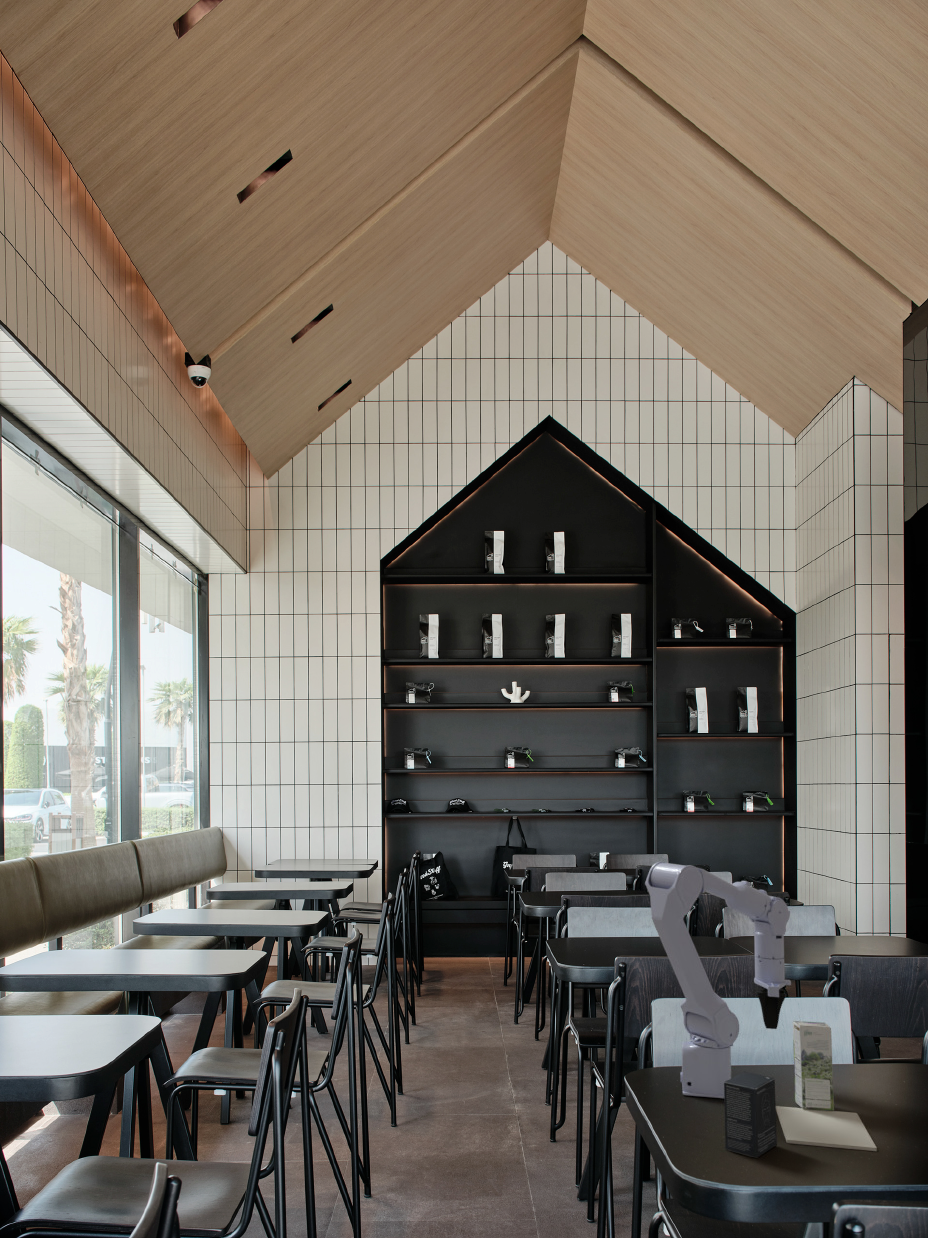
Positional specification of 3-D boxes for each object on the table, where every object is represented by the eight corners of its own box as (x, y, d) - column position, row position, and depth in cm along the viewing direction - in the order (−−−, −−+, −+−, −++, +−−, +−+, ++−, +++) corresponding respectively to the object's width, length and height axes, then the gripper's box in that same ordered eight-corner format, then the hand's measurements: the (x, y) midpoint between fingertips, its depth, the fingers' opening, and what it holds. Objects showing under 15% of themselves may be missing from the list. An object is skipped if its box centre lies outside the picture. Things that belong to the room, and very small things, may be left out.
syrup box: (826, 1105, 187) (822, 1021, 191) (834, 1112, 181) (831, 1025, 185) (794, 1103, 188) (791, 1019, 191) (802, 1109, 182) (799, 1024, 186)
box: (745, 1138, 169) (744, 1071, 170) (777, 1146, 165) (776, 1078, 167) (723, 1150, 163) (722, 1080, 164) (757, 1159, 159) (755, 1088, 161)
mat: (786, 1143, 167) (786, 1140, 167) (775, 1109, 184) (775, 1106, 184) (876, 1151, 164) (876, 1148, 164) (856, 1116, 181) (856, 1113, 181)
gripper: (794, 964, 196) (796, 1038, 194) (785, 952, 210) (787, 1021, 208) (756, 962, 198) (758, 1035, 195) (750, 950, 212) (752, 1018, 209)
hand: (770, 1027), depth 202 cm, fingers closed
